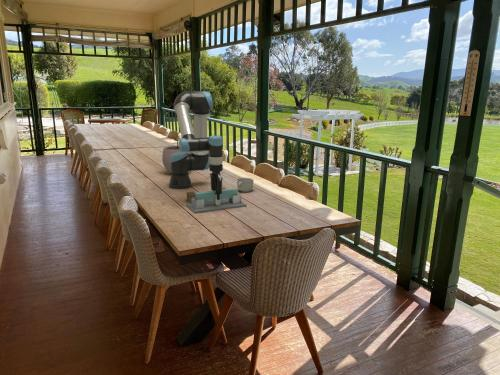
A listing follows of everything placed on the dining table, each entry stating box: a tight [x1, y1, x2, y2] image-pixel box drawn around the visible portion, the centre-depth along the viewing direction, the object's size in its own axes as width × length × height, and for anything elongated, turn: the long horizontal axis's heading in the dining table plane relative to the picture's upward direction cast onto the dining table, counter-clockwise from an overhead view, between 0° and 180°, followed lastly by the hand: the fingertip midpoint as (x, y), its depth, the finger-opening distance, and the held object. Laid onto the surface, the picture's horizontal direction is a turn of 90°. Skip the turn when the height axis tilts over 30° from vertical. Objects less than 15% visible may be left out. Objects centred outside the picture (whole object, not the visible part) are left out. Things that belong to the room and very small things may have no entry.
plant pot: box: [161, 135, 191, 174], centre depth 301 cm, size 24×24×30 cm
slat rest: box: [186, 187, 225, 204], centre depth 236 cm, size 6×24×5 cm, turn 116°
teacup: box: [236, 177, 255, 193], centre depth 254 cm, size 14×11×8 cm
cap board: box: [186, 199, 247, 214], centre depth 223 cm, size 15×31×1 cm, turn 116°
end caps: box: [190, 192, 242, 209], centre depth 222 cm, size 7×28×5 cm, turn 116°
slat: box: [194, 187, 238, 202], centre depth 221 cm, size 3×24×5 cm, turn 116°
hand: (216, 203), depth 222 cm, fingers closed on slat, 3 cm apart
